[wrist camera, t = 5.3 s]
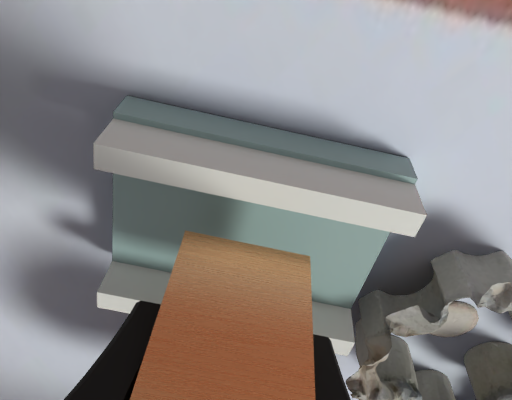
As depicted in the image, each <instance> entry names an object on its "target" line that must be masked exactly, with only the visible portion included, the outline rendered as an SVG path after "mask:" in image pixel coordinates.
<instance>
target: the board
mask: <svg viewBox="0 0 512 400" xmlns="http://www.w3.org/2000/svg"><path fill="white" fill-rule="evenodd" d="M93 159H94V169H95V170H100V171H105V172H109V173H113V230H112V263H111V265H110V267H109V269H108V271H107V273H106V275H105V277H104V279H103V281H102V283H101V285H100V287H99V289H98V291H97V307H98V308H103V309H108V310H113V311H118V312H124V313H129V314H130V312H131V311H132V309H133V307H134V306H135V304H136V302H139V301H146V302H152V303H157V304H161V303H162V300H163V297H164V294H165V291H166V288H167V285H168V282H169V279H170V276H171V273H172V270H173V266H174V263H175V260H176V257H177V254H178V251H179V248H180V245H181V242H182V239H183V236H184V233H185V230H186V231H191V232H195V233H200V234H205V235H210V236H215V237H220V238H224V239H229V240H234V241H239V242H244V243H249V244H254V245H258V246H263V247H268V248H273V249H278V250H283V251H287V252H292V253H297V254H302V255H307V256H310V263H311V291H312V319H313V334H315V335H320V336H325V337H329V339H330V340H331V342H332V346H333V349H334V353H335V354H339V355H344V356H348V354H349V353H350V351H351V349H352V347H353V346H354V344H355V339H354V331H353V323H352V315H351V308H352V306H353V304H354V302H355V300H356V298H357V296H358V294H359V292H360V290H361V288H362V286H363V284H364V282H365V280H366V278H367V276H368V275H369V273H370V271H371V269H372V267H373V265H374V263H375V261H376V259H377V257H378V255H379V253H380V251H381V249H382V247H383V245H384V243H385V241H386V240H387V238H388V236H389V234H390V232H392V233H397V234H402V235H406V236H411V237H415V236H416V234H417V232H418V230H419V229H420V227H421V225H422V223H423V222H424V220H425V218H426V216H427V214H426V212H425V209H424V207H423V204H422V201H421V199H420V196H419V194H418V191H417V189H416V186H415V183H416V181H417V179H418V178H417V176H416V174H415V171H414V169H413V166H412V164H411V161H410V159H409V158H406V157H401V156H397V155H392V154H388V153H383V152H379V151H374V150H370V149H365V148H361V147H356V146H352V145H347V144H343V143H338V142H334V141H329V140H325V139H320V138H316V137H311V136H307V135H302V134H298V133H293V132H289V131H284V130H280V129H275V128H271V127H266V126H262V125H257V124H253V123H248V122H244V121H239V120H235V119H230V118H226V117H221V116H217V115H212V114H208V113H203V112H199V111H194V110H190V109H185V108H181V107H176V106H172V105H167V104H163V103H158V102H154V101H149V100H145V99H140V98H136V97H131V96H126V97H125V98H124V100H123V101H122V102H121V103H120V104H119V106H118V107H117V108H116V109H115V111H114V112H113V119H112V121H111V122H110V123H109V124H108V126H107V127H106V128H105V129H104V131H103V132H102V133H101V134H100V136H99V137H98V138H97V139H96V141H95V142H94V143H93Z"/></svg>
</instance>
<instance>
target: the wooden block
mask: <svg viewBox="0 0 512 400" xmlns="http://www.w3.org/2000/svg"><path fill="white" fill-rule="evenodd" d="M130 400H315V374H314V346H313V319H312V291H311V263H310V256H307V255H302V254H297V253H292V252H287V251H283V250H278V249H273V248H268V247H263V246H258V245H254V244H249V243H244V242H239V241H234V240H229V239H224V238H220V237H215V236H210V235H205V234H200V233H195V232H191V231H186V230H185V233H184V236H183V239H182V242H181V245H180V248H179V251H178V254H177V257H176V260H175V263H174V266H173V270H172V273H171V276H170V279H169V282H168V285H167V288H166V291H165V294H164V297H163V300H162V303H161V306H160V309H159V312H158V315H157V318H156V321H155V324H154V327H153V330H152V333H151V336H150V339H149V343H148V346H147V349H146V352H145V355H144V358H143V361H142V364H141V367H140V370H139V373H138V376H137V379H136V382H135V385H134V388H133V391H132V394H131V397H130Z"/></svg>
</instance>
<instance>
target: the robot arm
mask: <svg viewBox="0 0 512 400" xmlns="http://www.w3.org/2000/svg"><path fill="white" fill-rule="evenodd" d="M160 306H161V304H157V303H152V302H146V301H139V302H136V304H135V306H134V307H133V309H132V311H131V312H130V314H129V316H128V317H127V319H126V320H125V322H124V323H123V325H122V326H121V328H120V329H119V331H118V332H117V334H116V335H115V336H114V338H113V339H112V341H111V342H110V343H109V345H108V346H107V347H106V349H105V350H104V351H103V353H102V354H101V355H100V357H99V358H98V359H97V360H96V362H95V363H94V364H93V365H92V367H91V368H90V369H89V370H88V372H87V373H86V374H85V376H84V377H83V378H82V379H81V380H80V382H79V383H78V384H77V385H76V386H75V387H74V389H73V390H72V391H71V392H70V393H69V394H68V395H67V397H66V398H65V399H64V400H130V397H131V394H132V391H133V388H134V385H135V382H136V379H137V376H138V373H139V370H140V367H141V364H142V361H143V358H144V355H145V352H146V349H147V346H148V343H149V339H150V336H151V333H152V330H153V327H154V324H155V321H156V318H157V315H158V312H159V309H160ZM313 346H314V374H315V400H350V397H349V394H348V391H347V389H346V386H345V383H344V380H343V377H342V374H341V371H340V368H339V365H338V362H337V359H336V356H335V353H334V349H333V346H332V342H331V340H330V339H329V337H325V336H320V335H315V334H313Z"/></svg>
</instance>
